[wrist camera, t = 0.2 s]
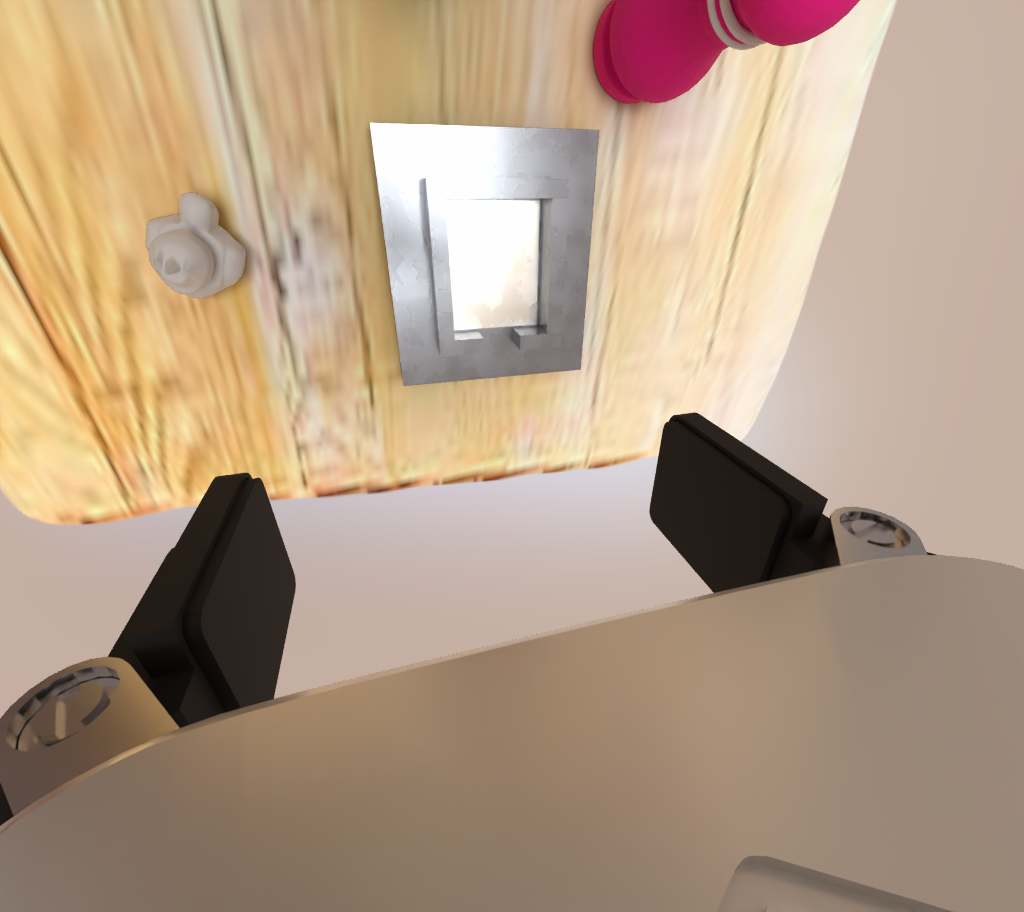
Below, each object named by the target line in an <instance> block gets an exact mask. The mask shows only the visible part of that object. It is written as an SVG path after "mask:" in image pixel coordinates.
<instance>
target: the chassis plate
mask: <svg viewBox="0 0 1024 912" xmlns="http://www.w3.org/2000/svg"><path fill="white" fill-rule="evenodd" d="M370 131H371V139H372V146H373V154H374V162H375V170H376V177H377V185H378V193H379V201H380V208H381V216H382V224H383V232H384V239H385V247H386V255H387V263H388V270H389V278H390V286H391V294H392V301H393V309H394V317H395V325H396V332H397V340H398V348H399V356H400V363H401V371H402V379H403V385H404V386H409V385H420V384H430V383H441V382H452V381H462V380H473V379H484V378H494V377H505V376H516V375H526V374H537V373H548V372H558V371H569V370H580V369H581V357H582V344H583V331H584V318H585V306H586V293H587V280H588V267H589V254H590V242H591V229H592V216H593V203H594V190H595V177H596V165H597V152H598V139H599V130H581V129H549V128H518V127H486V126H455V125H423V124H392V123H370Z"/></svg>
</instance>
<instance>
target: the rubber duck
mask: <svg viewBox="0 0 1024 912" xmlns="http://www.w3.org/2000/svg"><path fill="white" fill-rule="evenodd" d="M179 213H180V215H169V216H166V217H160V218H155V219H152V220H150V221H149V222H148V223H147V225H146V247H147V250H148V252H149V259H150V263H151V265H152V267H153V268H154V269H155V271H156V272H157V273H158V275H159V276H160V277H161V279H162V280H163V281H164V282H165V283H166V284H167V285H168V286H169V287H170V288H171V289H173V290H174V291H176V292H178V293H181V294H186V295H188V296H191V297H194V298H199V299H203V298H207V297H210V296H212V295H214V294H216V293H218V292H220V291H222V290H224V289H225V288H227V287H230V286H232V285H234V284H235V283H236V282H237V281H238V280H239V279H240V278H241V276H242V275H243V273H244V268H245V260H246V251H245V249H244V247H243V246H242V245H241V244H240V243H239V242H238V241H236V240H235V239H234V238H233V237H232V236H231V234H230V233H228V232H227V231H226V230H224V229H223V228H222V227H220V226H219V225H218V222H219V213H218V210H217V208H216V206H215V205H214V203H213V202H212V201H211V200H210V199H208V198H206V197H204V196H201V195H199V194H197V193H190V192H189V193H185V194H183V195H181V197H180V201H179Z"/></svg>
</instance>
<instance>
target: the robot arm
mask: <svg viewBox="0 0 1024 912" xmlns="http://www.w3.org/2000/svg"><path fill="white" fill-rule="evenodd" d="M827 500H828V499H827V498H825V497H824V496H822V495H820V494H819V493H818V492H816V491H815V490H813V489H811V488H810V487H809V486H807V485H805V484H804V483H802V482H801V481H799V480H798V479H796V478H795V477H793V476H792V475H790V474H789V473H787V472H786V471H784V470H783V469H781V468H780V467H778V466H777V465H775V464H774V463H772V462H771V461H769V460H768V459H766V458H765V457H763V456H761V455H760V454H759V453H757V452H755V451H754V450H752V449H751V448H750V447H748V446H746V445H745V444H743V443H742V442H741V441H739V440H738V439H736V438H734V437H733V436H731V435H730V434H728V433H727V432H725V431H724V430H722V429H721V428H719V427H718V426H716V425H715V424H713V423H712V422H710V421H709V420H707V419H706V418H704V417H703V416H701V415H700V414H698V413H688V414H681V415H674V416H672V417H671V418H670V420H669V422H667V423H665V425H664V428H663V433H662V439H661V445H660V451H659V456H658V462H657V468H656V474H655V480H654V486H653V492H652V498H651V503H650V516H651V519H652V521H653V523H654V524H655V525H656V526H657V527H658V529H659V530H660V531H661V532H662V533H663V534H664V536H665V537H666V538H667V539H668V540H669V541H670V542H671V544H672V545H673V546H674V547H675V548H676V549H677V551H678V552H679V553H680V554H681V555H682V556H683V558H685V560H686V561H687V562H688V563H689V565H690V566H691V567H692V568H693V569H694V570H695V572H697V574H698V575H699V576H700V577H701V578H702V580H703V581H704V582H705V583H706V584H707V585H708V587H709V588H710V589H711V590H712V591H713V592H714V593H712V594H708V595H704V596H699V597H695V598H691V599H686V600H682V601H678V602H673V603H669V604H664V605H660V606H656V607H652V608H647V609H643V610H639V611H634V612H630V613H625V614H621V615H617V616H613V617H608V618H604V619H600V620H595V621H592V622H587V623H583V624H579V625H574V626H570V627H566V628H562V629H557V630H553V631H549V632H544V633H541V634H536V635H532V636H527V637H523V638H519V639H515V640H511V641H506V642H502V643H499V644H495V645H490V646H486V647H482V648H477V649H473V650H469V651H465V652H461V653H456V654H452V655H448V656H444V657H440V658H436V659H432V660H427V661H423V662H419V663H415V664H411V665H407V666H402V667H398V668H394V669H390V670H386V671H382V672H377V673H374V674H369V675H365V676H361V677H357V678H354V679H349V680H346V681H342V682H338V683H333V684H329V685H325V686H321V687H318V688H313V689H309V690H305V691H302V692H298V693H294V694H291V695H287V696H283V697H280V698H276V699H274V694H275V689H276V684H277V679H278V674H279V669H280V664H281V659H282V654H283V649H284V644H285V639H286V634H287V629H288V624H289V619H290V614H291V609H292V604H293V599H294V594H295V587H296V583H295V575H294V572H293V569H292V566H291V563H290V560H289V557H288V554H287V551H286V548H285V546H284V543H283V540H282V537H281V534H280V531H279V528H278V525H277V522H276V519H275V516H274V513H273V510H272V507H271V504H270V501H269V499H268V496H267V493H266V490H265V487H264V484H263V482H262V480H261V479H260V478H254V479H252V477H251V475H250V474H249V473H240V474H233V475H225V476H218V477H215V478H214V479H213V481H212V483H211V485H210V486H209V488H208V490H207V492H206V493H205V495H204V497H203V499H202V500H201V502H200V504H199V506H198V507H197V509H196V511H195V513H194V514H193V516H192V518H191V520H190V521H189V523H188V525H187V527H186V529H185V530H184V532H183V534H182V535H181V537H180V539H179V541H178V543H177V544H176V546H175V548H173V549H171V551H170V552H169V553H168V554H167V556H166V557H165V559H164V561H163V563H162V564H161V566H160V568H159V569H158V571H157V573H156V575H155V576H154V578H153V580H152V581H151V583H150V585H149V587H148V589H147V590H146V592H145V594H144V595H143V597H142V599H141V601H140V602H139V604H138V606H137V607H136V609H135V611H134V613H133V614H132V616H131V618H130V620H129V621H128V623H127V625H126V626H125V628H124V630H123V631H122V633H121V635H120V637H119V638H118V640H117V642H116V643H115V645H114V647H113V649H112V650H111V652H110V654H109V656H108V657H102V658H95V659H89V660H86V661H83V662H80V663H77V664H74V665H72V666H69V667H67V668H65V669H63V670H61V671H59V672H57V673H55V674H53V675H51V676H49V677H48V678H46V679H44V680H43V681H42V682H40V683H39V684H37V685H36V686H34V687H33V688H31V689H30V690H28V691H27V692H26V693H25V694H24V695H23V696H21V697H20V698H19V699H18V700H17V701H16V702H15V703H14V704H13V705H12V706H10V707H9V709H8V710H7V711H6V712H5V713H4V715H3V716H2V717H1V718H0V912H1024V570H1023V569H1020V568H1017V567H1014V566H1010V565H1006V564H1002V563H997V562H991V561H986V560H980V559H974V558H965V557H954V556H944V555H936V554H932V553H928V552H926V550H925V548H924V546H923V544H922V541H921V539H920V538H919V537H918V535H917V534H916V532H915V531H914V530H912V529H911V528H910V527H909V526H907V525H906V524H904V523H903V522H901V521H899V520H897V519H896V518H894V517H891V516H889V515H886V514H884V513H882V512H878V511H875V510H871V509H866V508H859V507H843V508H840V509H836V510H835V511H834V512H833V513H832V514H831V516H830V518H828V517H826V516H825V515H823V514H822V512H823V510H824V508H825V505H826V503H827Z"/></svg>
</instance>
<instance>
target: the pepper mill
mask: <svg viewBox="0 0 1024 912" xmlns="http://www.w3.org/2000/svg"><path fill="white" fill-rule="evenodd" d="M859 1H860V0H612V1H611V2H610V3H609V4H608V6H607V7H606V8H605V10H604V12H603V13H602V16H601V18H600V20H599V22H598V26H597V29H596V32H595V38H594V48H593V54H594V64H595V69H596V73H597V76H598V79H599V81H600V83H601V85H602V86H603V88H604V89H605V91H606V92H607V93H608V94H609V95H610V96H611V97H612V98H614V99H616V100H617V101H620V102H623V103H637V102H640V101H645V102H650V103H660V102H666V101H669V100H672V99H674V98H676V97H678V96H680V95H682V94H683V93H685V92H687V91H689V90H690V89H691V88H692V87H693V86H695V85H696V84H697V83H698V82H699V81H700V80H701V79H702V78H703V77H704V76H705V75H706V74H707V72H708V71H709V69H710V68H711V67H712V65H713V64H714V62H715V61H716V59H717V58H718V56H719V55H720V53H721V51H722V50H724V49H725V48H727V47H731V48H734V49H738V50H745V49H750V48H754V47H756V46H758V45H760V44H764V43H767V42H768V43H770V44H772V45H777V46H787V45H792V44H798V43H801V42H805V41H808V40H810V39H812V38H814V37H816V36H817V35H819V34H821V33H823V32H825V31H826V30H828V29H830V28H831V27H833V26H834V25H835V24H836V23H838V22H839V21H840V20H841V19H842V18H843V17H845V16H846V15H847V14H848V13H849V12H850V11H851V10H852V8H853V7H854V6H855V5H856V4H857V3H858V2H859Z"/></svg>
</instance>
